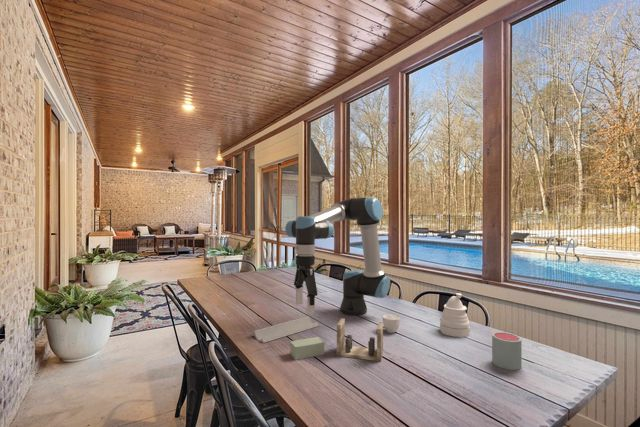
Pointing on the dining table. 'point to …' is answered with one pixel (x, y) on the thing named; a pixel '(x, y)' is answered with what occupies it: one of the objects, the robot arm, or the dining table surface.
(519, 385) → the dining table surface
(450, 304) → the honey pot
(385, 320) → the cup
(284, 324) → the crown molding
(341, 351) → the frame
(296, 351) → the pale green block
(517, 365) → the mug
